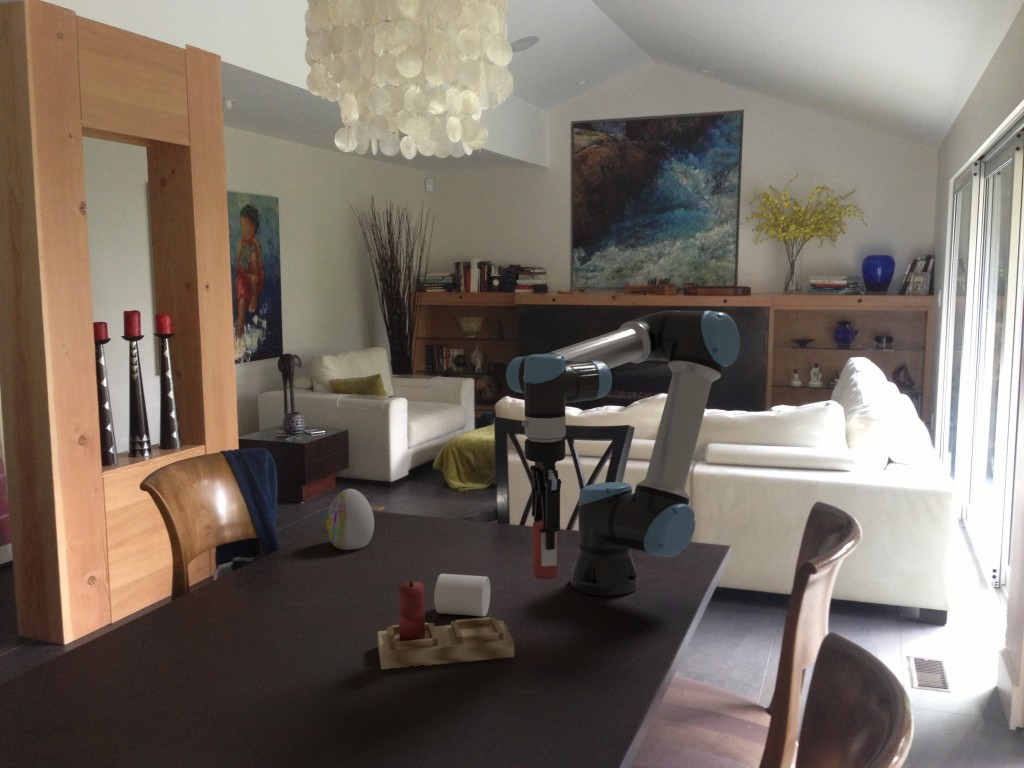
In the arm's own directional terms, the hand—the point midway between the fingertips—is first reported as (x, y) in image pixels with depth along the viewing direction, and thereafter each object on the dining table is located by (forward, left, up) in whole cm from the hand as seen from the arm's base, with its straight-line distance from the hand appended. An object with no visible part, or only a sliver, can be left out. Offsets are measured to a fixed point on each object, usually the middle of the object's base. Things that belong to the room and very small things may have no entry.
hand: (545, 560), depth 163 cm
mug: (+12, -20, -16) cm, 28 cm away
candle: (0, 0, -3) cm, 3 cm away
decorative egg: (+34, -71, -16) cm, 80 cm away
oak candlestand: (+19, 0, -16) cm, 25 cm away
